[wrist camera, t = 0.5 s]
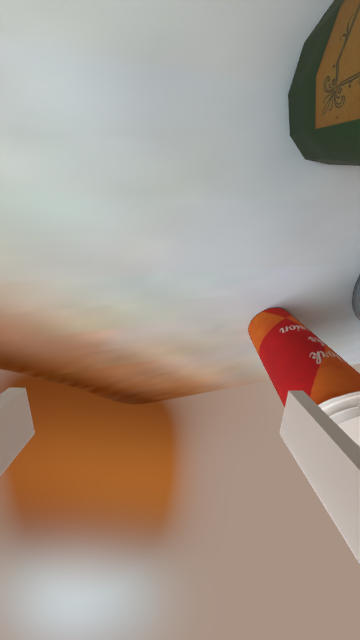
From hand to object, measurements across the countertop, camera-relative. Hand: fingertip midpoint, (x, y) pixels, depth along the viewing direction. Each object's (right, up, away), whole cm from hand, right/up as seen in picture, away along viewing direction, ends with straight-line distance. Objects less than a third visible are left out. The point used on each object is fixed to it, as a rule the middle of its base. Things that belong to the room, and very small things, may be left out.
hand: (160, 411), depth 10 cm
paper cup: (+13, +4, +16) cm, 21 cm away
